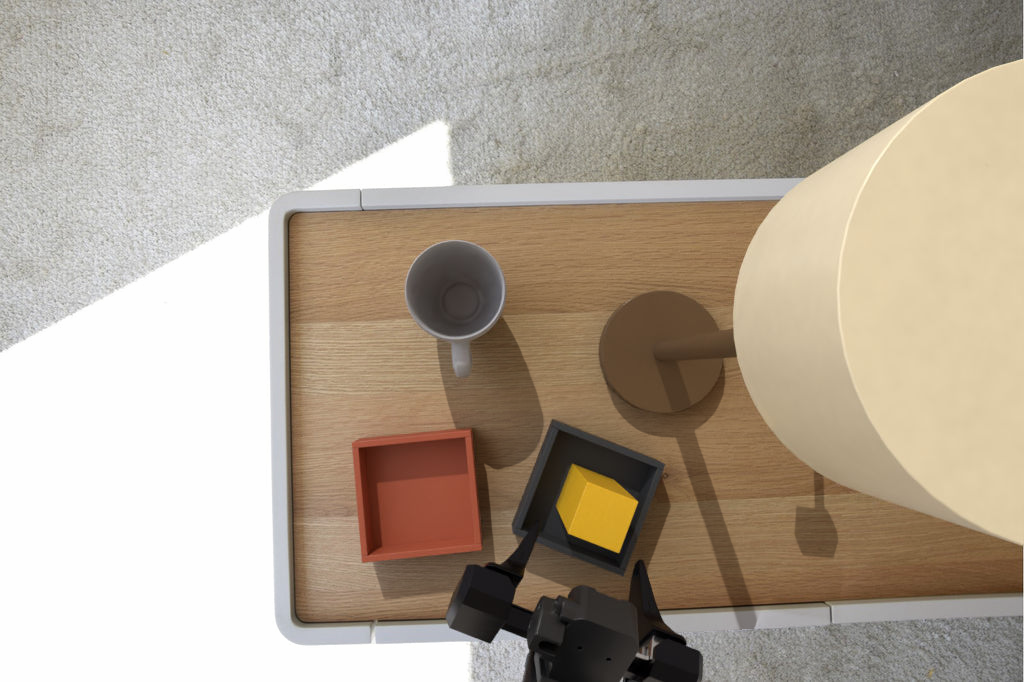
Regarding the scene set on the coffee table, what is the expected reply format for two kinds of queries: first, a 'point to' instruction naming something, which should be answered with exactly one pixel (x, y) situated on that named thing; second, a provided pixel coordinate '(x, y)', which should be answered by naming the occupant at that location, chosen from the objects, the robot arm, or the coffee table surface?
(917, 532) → the coffee table surface
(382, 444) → the bin left
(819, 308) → the tall lamp
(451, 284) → the mug
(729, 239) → the coffee table surface
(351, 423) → the coffee table surface
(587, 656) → the robot arm
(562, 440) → the bin right
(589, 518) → the yellow box
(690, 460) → the coffee table surface
